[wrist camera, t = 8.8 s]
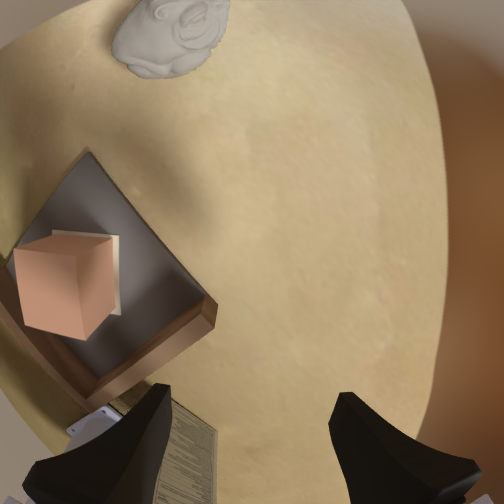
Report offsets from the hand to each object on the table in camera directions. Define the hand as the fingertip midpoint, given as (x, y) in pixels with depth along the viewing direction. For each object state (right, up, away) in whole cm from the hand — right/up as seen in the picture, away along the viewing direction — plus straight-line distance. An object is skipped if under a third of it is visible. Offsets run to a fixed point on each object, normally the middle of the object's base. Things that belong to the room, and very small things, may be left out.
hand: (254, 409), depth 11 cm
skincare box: (-7, -9, +12) cm, 16 cm away
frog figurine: (-5, +20, +5) cm, 21 cm away
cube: (-12, +5, +7) cm, 15 cm away
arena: (-12, +4, +8) cm, 15 cm away
